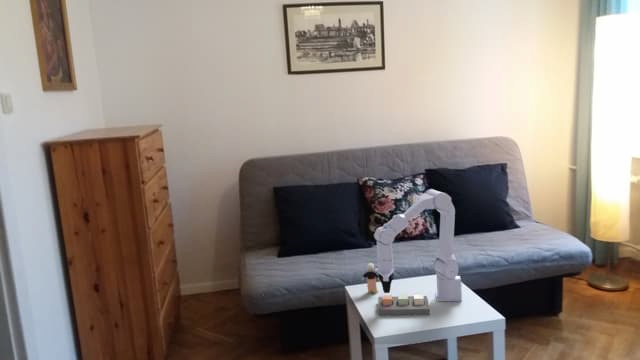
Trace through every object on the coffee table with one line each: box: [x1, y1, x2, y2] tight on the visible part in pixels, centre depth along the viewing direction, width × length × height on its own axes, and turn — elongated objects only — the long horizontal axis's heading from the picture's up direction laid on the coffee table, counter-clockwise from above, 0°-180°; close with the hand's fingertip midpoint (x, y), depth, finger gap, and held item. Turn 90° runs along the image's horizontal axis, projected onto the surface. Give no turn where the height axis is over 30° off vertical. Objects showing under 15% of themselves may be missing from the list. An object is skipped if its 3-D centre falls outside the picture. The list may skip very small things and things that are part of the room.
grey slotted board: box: [377, 295, 431, 317], centre depth 195 cm, size 19×12×2 cm, turn 83°
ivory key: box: [413, 294, 424, 305], centre depth 194 cm, size 4×4×3 cm
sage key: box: [397, 294, 409, 305], centre depth 195 cm, size 4×4×3 cm
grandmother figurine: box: [361, 262, 381, 295], centre depth 213 cm, size 8×4×13 cm, turn 84°
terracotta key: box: [381, 294, 393, 305], centre depth 196 cm, size 4×4×3 cm
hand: (386, 292), depth 195 cm, fingers closed
